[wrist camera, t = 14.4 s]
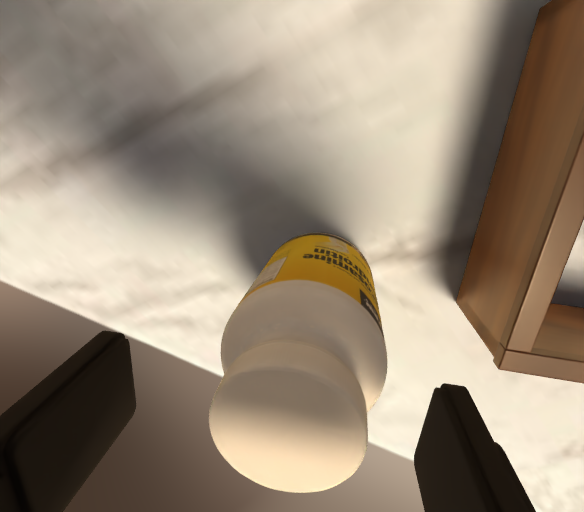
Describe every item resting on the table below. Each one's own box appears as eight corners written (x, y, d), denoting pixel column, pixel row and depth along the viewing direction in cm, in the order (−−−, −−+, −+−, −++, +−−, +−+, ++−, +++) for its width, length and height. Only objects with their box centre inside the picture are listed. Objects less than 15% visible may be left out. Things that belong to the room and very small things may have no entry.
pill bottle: (388, 305, 20) (439, 496, 9) (295, 338, 22) (245, 531, 11) (345, 210, 19) (343, 302, 8) (249, 254, 20) (138, 379, 10)
